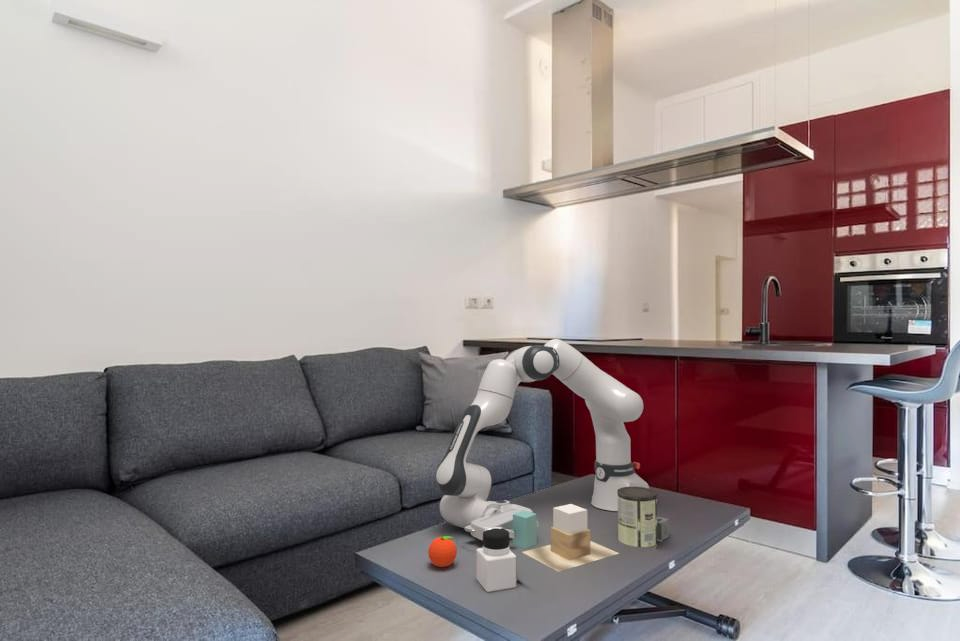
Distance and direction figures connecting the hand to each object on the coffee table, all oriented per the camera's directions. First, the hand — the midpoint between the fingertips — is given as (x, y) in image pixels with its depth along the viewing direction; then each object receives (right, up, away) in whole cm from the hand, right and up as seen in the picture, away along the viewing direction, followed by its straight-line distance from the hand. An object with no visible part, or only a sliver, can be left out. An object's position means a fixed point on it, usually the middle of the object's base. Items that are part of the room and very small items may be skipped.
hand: (526, 529), depth 149 cm
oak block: (+11, -4, -6) cm, 13 cm away
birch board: (+11, -5, -6) cm, 13 cm away
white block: (+11, +2, -6) cm, 12 cm away
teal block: (0, -5, 0) cm, 5 cm away
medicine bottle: (-8, -5, -21) cm, 23 cm away
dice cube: (+37, -5, +8) cm, 38 cm away
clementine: (-21, -5, -11) cm, 24 cm away
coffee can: (+30, -5, +3) cm, 31 cm away
